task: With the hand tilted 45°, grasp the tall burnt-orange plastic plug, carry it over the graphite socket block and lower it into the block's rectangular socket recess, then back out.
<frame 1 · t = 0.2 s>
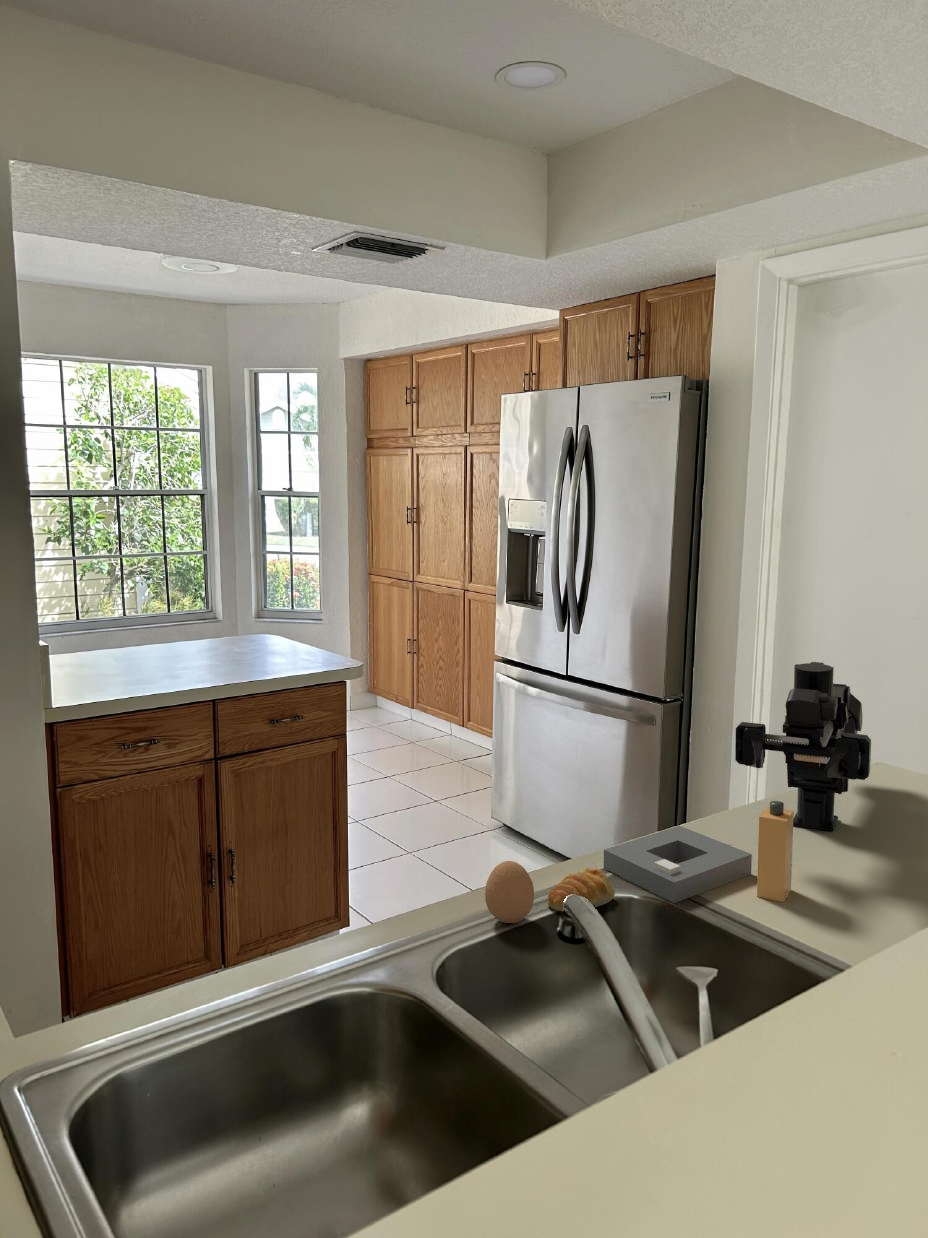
hand: (791, 769, 127), 17 cm above the countertop, tool horizontal, fingers open, 9 cm apart
pastry: (581, 903, 125), on the countertop
egg: (510, 923, 119), on the countertop
socket: (676, 871, 134), on the countertop
plug: (774, 893, 126), on the countertop
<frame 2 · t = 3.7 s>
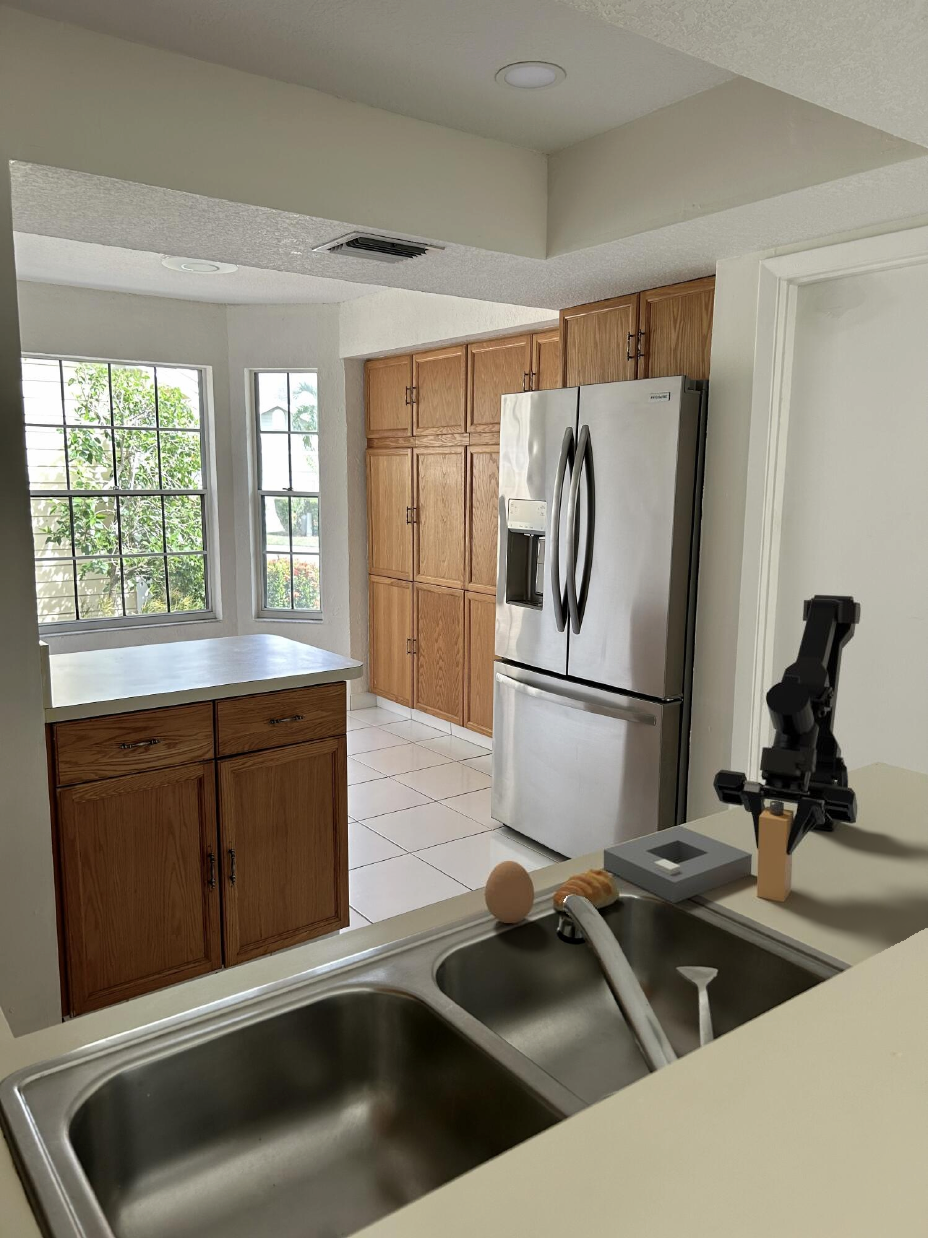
hand: (773, 851, 124), 7 cm above the countertop, tool tilted 45°, fingers closed on plug, 4 cm apart
plug: (774, 893, 126), on the countertop, touching gripper
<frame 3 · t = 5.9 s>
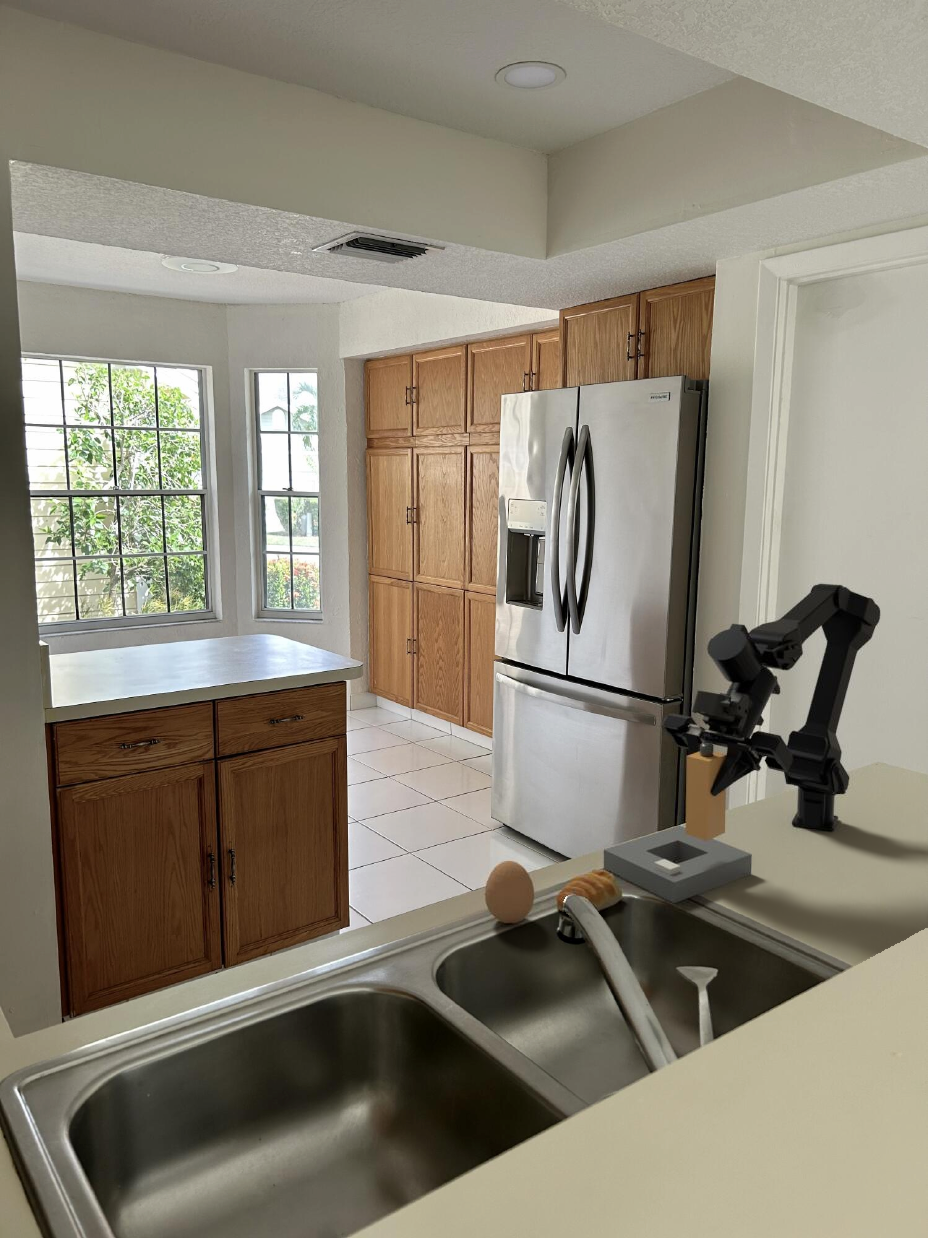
hand: (700, 791, 128), 14 cm above the countertop, tool tilted 45°, fingers closed on plug, 4 cm apart
plug: (705, 833, 130), point 7 cm above the countertop, touching gripper
when the fingers open (8 cm above the countertop, at t = 7.9 s): plug drops 1 cm, resting in socket.
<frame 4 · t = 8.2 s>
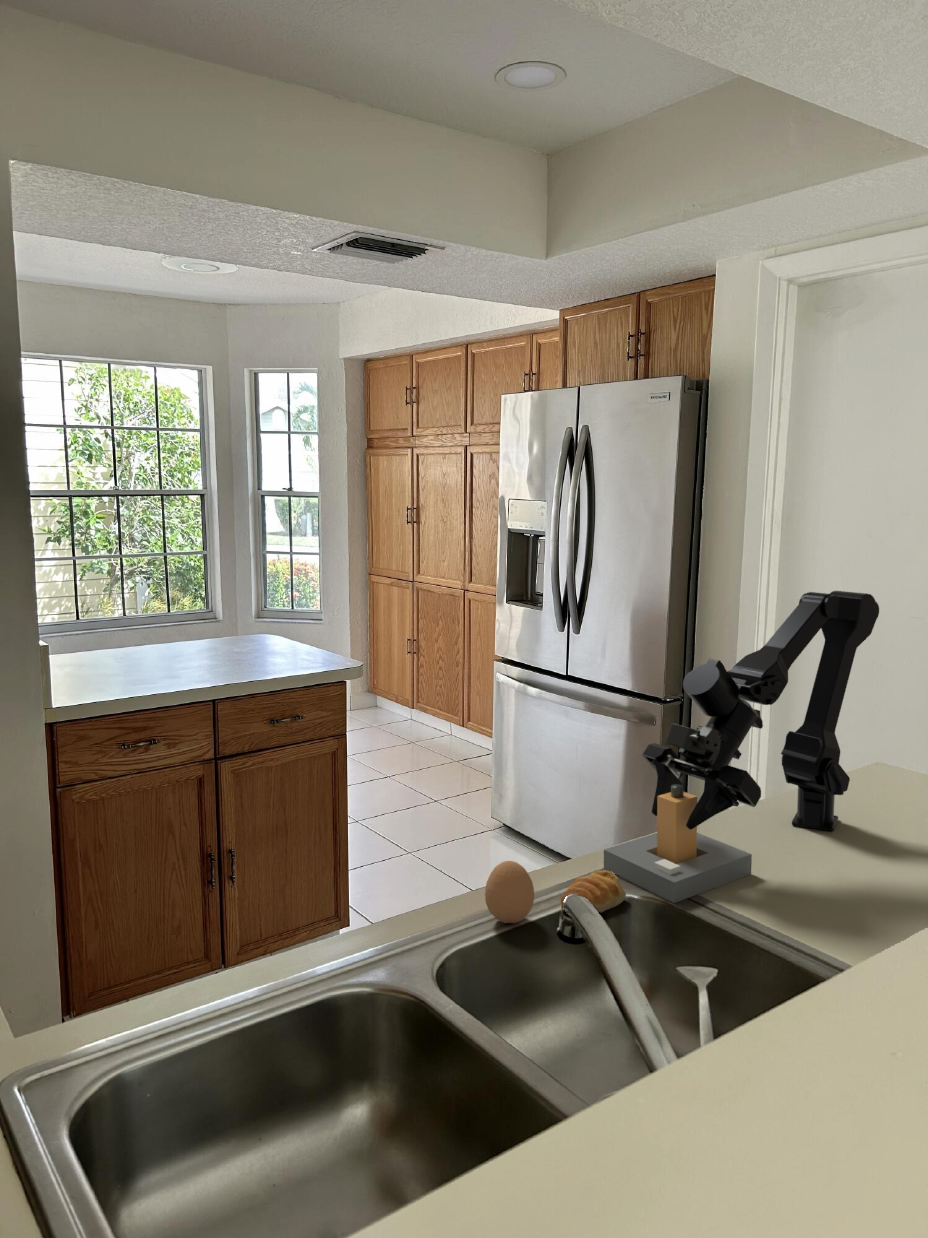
hand: (670, 821, 132), 8 cm above the countertop, tool tilted 45°, fingers open, 6 cm apart
plug: (676, 871, 134), resting in socket
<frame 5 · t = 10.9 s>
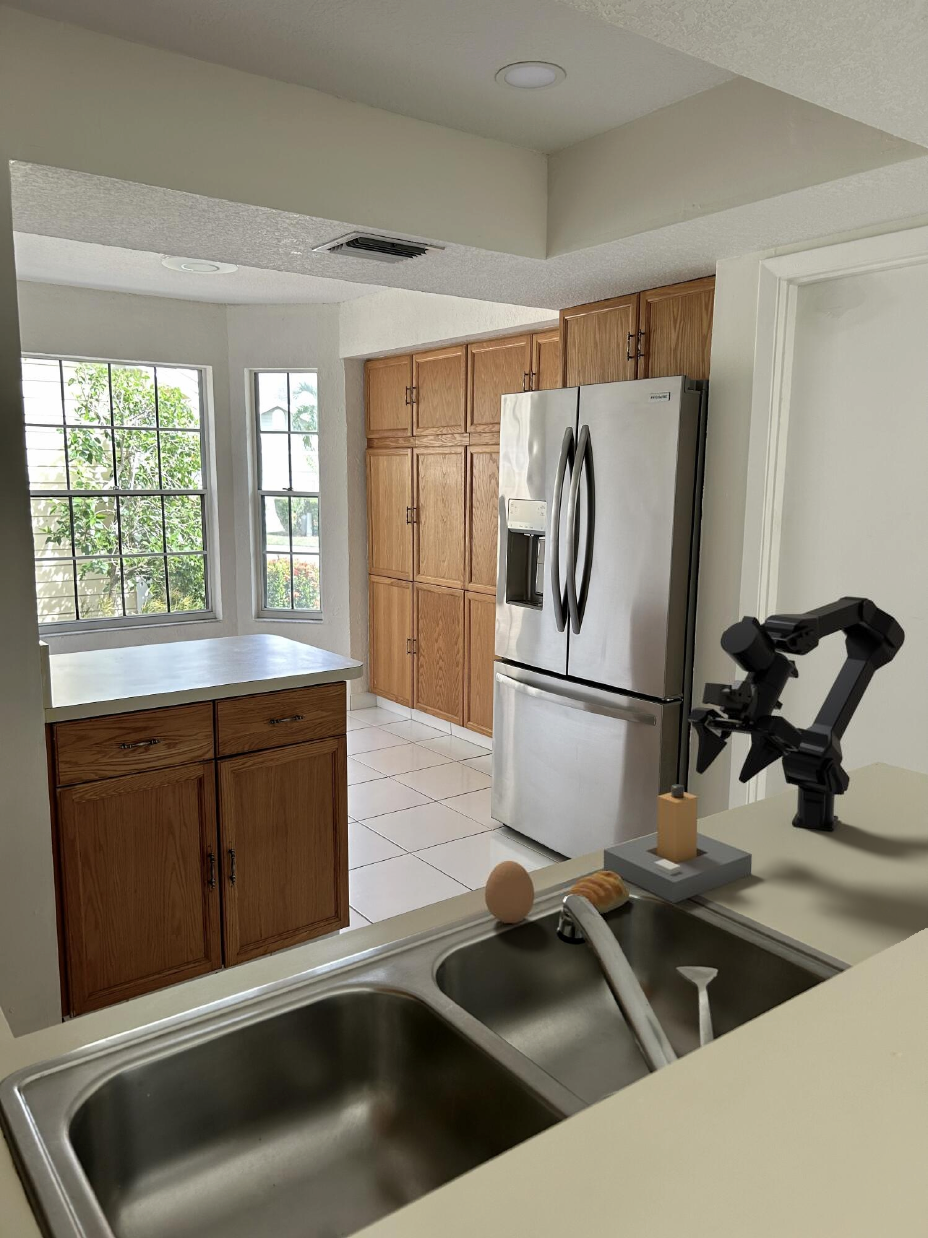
hand: (719, 777, 135), 13 cm above the countertop, tool tilted 40°, fingers open, 9 cm apart
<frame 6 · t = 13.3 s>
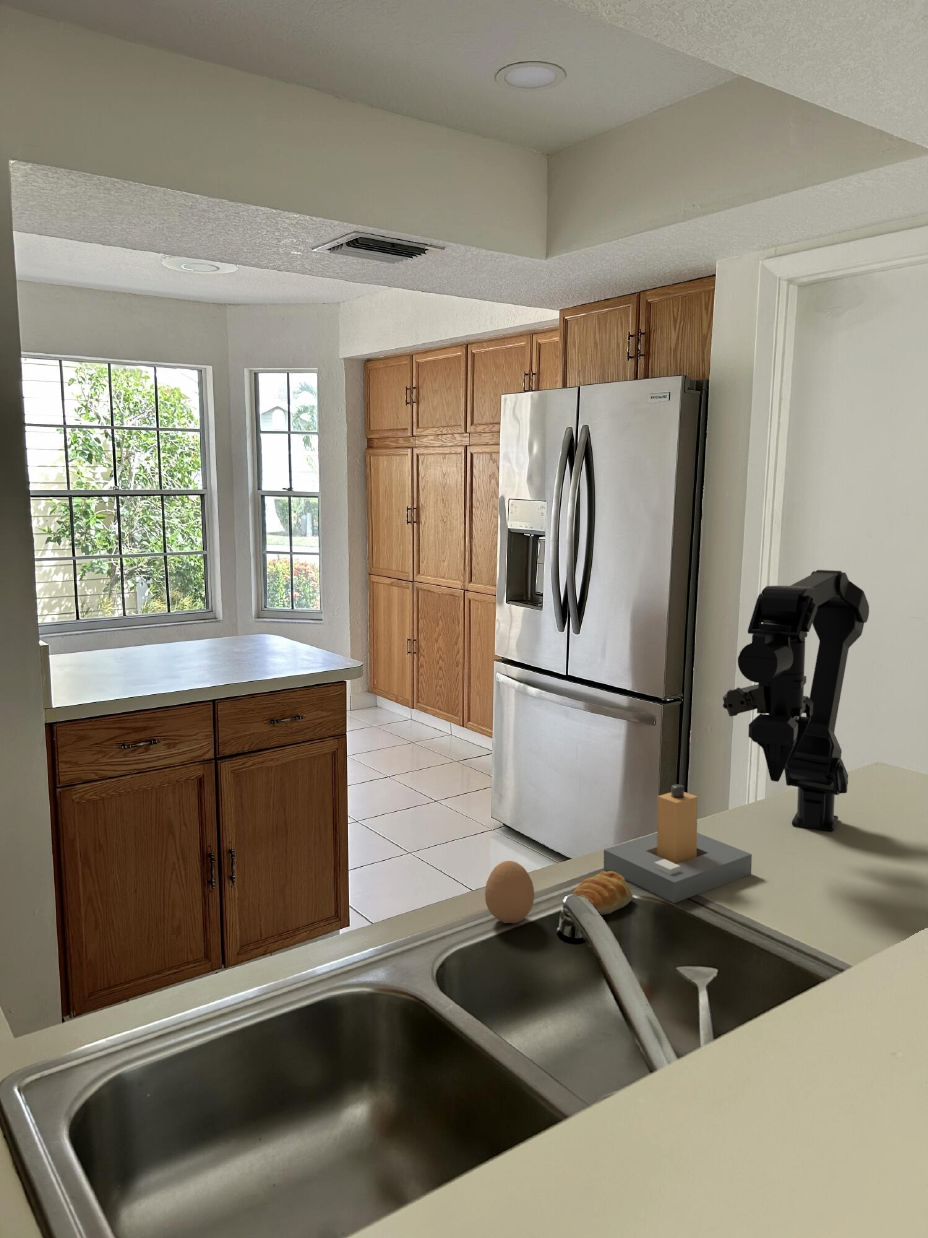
hand: (780, 772, 137), 13 cm above the countertop, tool pointing down, fingers open, 9 cm apart
at the end: plug 0.0 cm off-centre on the socket, point 0.0 cm above the socket's base; plug tilted 0°; the gripper is holding nothing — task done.
